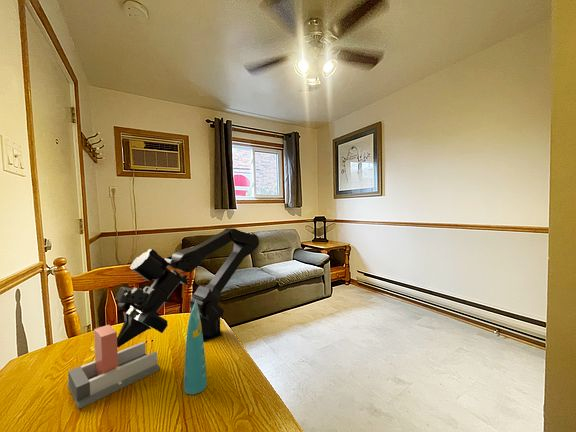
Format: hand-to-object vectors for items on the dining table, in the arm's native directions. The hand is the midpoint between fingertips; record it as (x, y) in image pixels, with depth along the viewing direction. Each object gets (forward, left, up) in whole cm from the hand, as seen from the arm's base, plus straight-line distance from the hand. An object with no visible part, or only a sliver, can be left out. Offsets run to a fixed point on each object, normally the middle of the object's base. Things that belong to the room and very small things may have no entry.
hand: (115, 346), depth 60 cm
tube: (-15, +15, -8) cm, 23 cm away
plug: (+2, 0, -6) cm, 7 cm away
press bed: (0, 0, -8) cm, 8 cm away
